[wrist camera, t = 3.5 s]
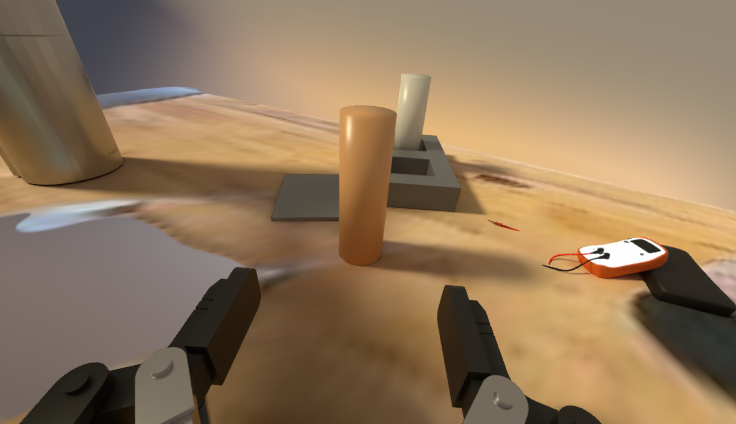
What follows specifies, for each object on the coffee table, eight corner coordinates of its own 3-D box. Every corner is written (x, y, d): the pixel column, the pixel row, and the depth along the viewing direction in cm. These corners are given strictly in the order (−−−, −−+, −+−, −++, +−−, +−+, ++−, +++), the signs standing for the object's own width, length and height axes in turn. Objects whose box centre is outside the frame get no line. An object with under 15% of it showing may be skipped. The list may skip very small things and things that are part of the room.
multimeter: (474, 281, 24) (486, 249, 22) (486, 213, 33) (495, 187, 31) (764, 380, 18) (814, 349, 16) (681, 264, 28) (706, 236, 26)
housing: (365, 204, 32) (373, 90, 26) (372, 149, 47) (378, 68, 41) (454, 211, 32) (484, 98, 26) (433, 153, 47) (448, 73, 41)
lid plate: (272, 226, 29) (271, 217, 28) (285, 181, 37) (285, 174, 37) (351, 224, 30) (351, 216, 29) (347, 181, 38) (347, 174, 38)
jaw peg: (335, 263, 24) (335, 117, 17) (341, 236, 27) (343, 103, 21) (381, 267, 24) (397, 121, 17) (381, 239, 27) (396, 107, 21)
